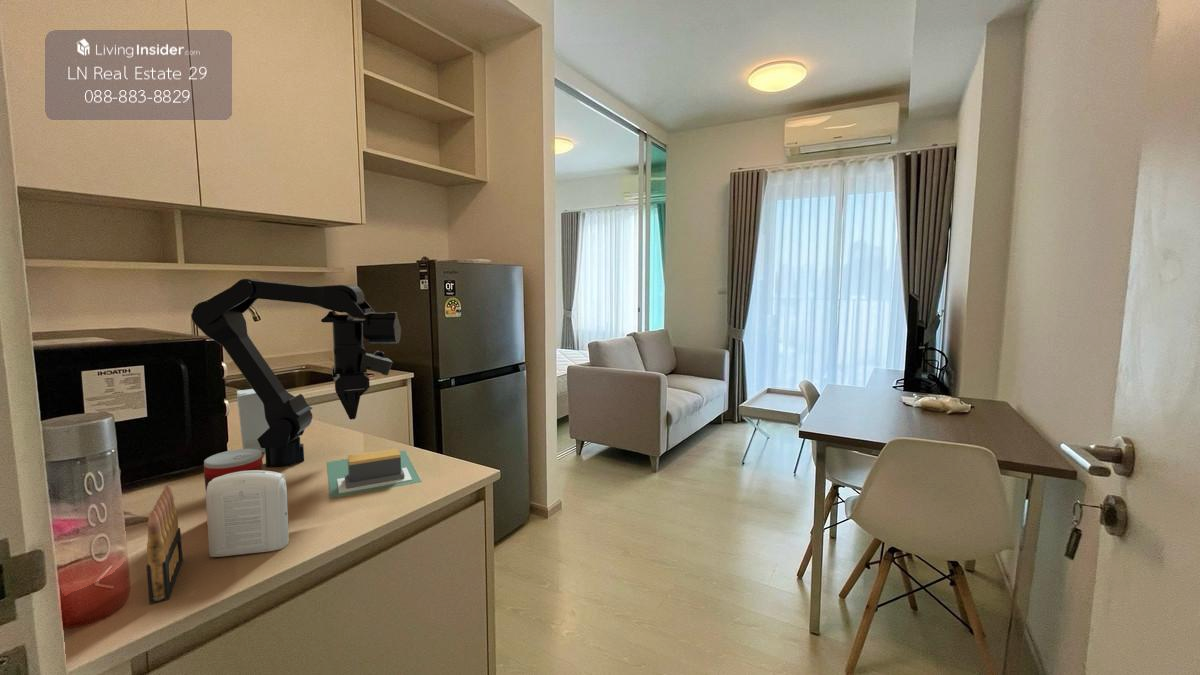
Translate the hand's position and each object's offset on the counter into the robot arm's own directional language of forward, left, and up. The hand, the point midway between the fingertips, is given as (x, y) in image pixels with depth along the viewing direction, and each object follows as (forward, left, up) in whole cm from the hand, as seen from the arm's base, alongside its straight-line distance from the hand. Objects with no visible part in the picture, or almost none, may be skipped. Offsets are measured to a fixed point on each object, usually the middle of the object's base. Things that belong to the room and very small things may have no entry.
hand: (351, 413), depth 106 cm
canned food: (-19, -16, -12) cm, 28 cm away
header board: (+3, -9, -12) cm, 15 cm away
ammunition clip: (-25, -33, -12) cm, 43 cm away
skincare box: (-18, +21, -12) cm, 30 cm away
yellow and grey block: (+3, -14, -9) cm, 17 cm away
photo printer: (-16, -29, -12) cm, 35 cm away
